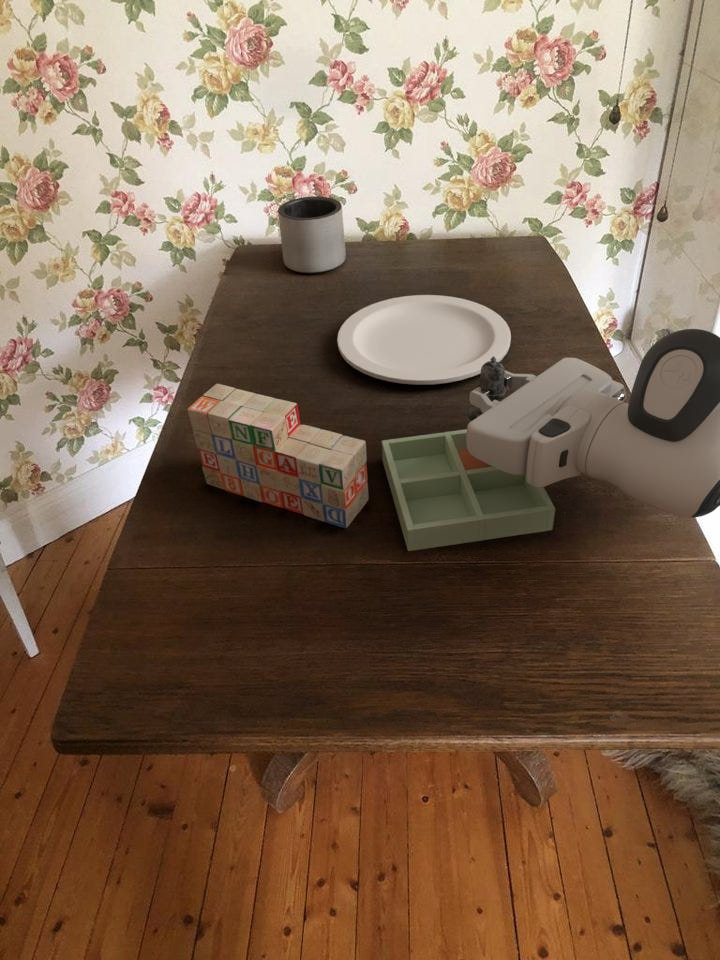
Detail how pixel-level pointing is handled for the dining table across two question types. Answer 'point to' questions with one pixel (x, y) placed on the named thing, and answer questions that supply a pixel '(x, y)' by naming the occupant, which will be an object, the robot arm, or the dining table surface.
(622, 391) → the robot arm
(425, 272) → the dining table surface
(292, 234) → the planter
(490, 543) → the dining table surface
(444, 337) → the plate
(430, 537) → the grid
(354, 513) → the stack of blocks
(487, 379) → the grey chess piece
